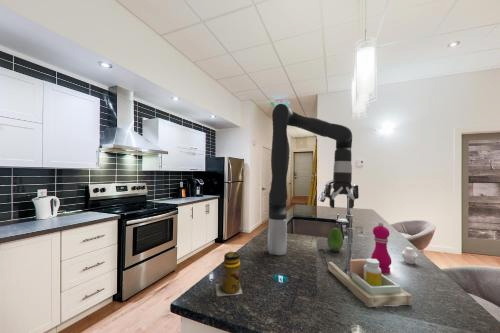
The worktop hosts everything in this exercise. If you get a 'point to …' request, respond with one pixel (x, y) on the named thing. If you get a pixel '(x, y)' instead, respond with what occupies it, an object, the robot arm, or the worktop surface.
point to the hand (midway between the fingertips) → (341, 207)
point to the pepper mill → (381, 248)
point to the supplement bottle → (372, 272)
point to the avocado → (335, 239)
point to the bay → (368, 298)
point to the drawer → (357, 276)
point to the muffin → (409, 255)
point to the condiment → (230, 276)
